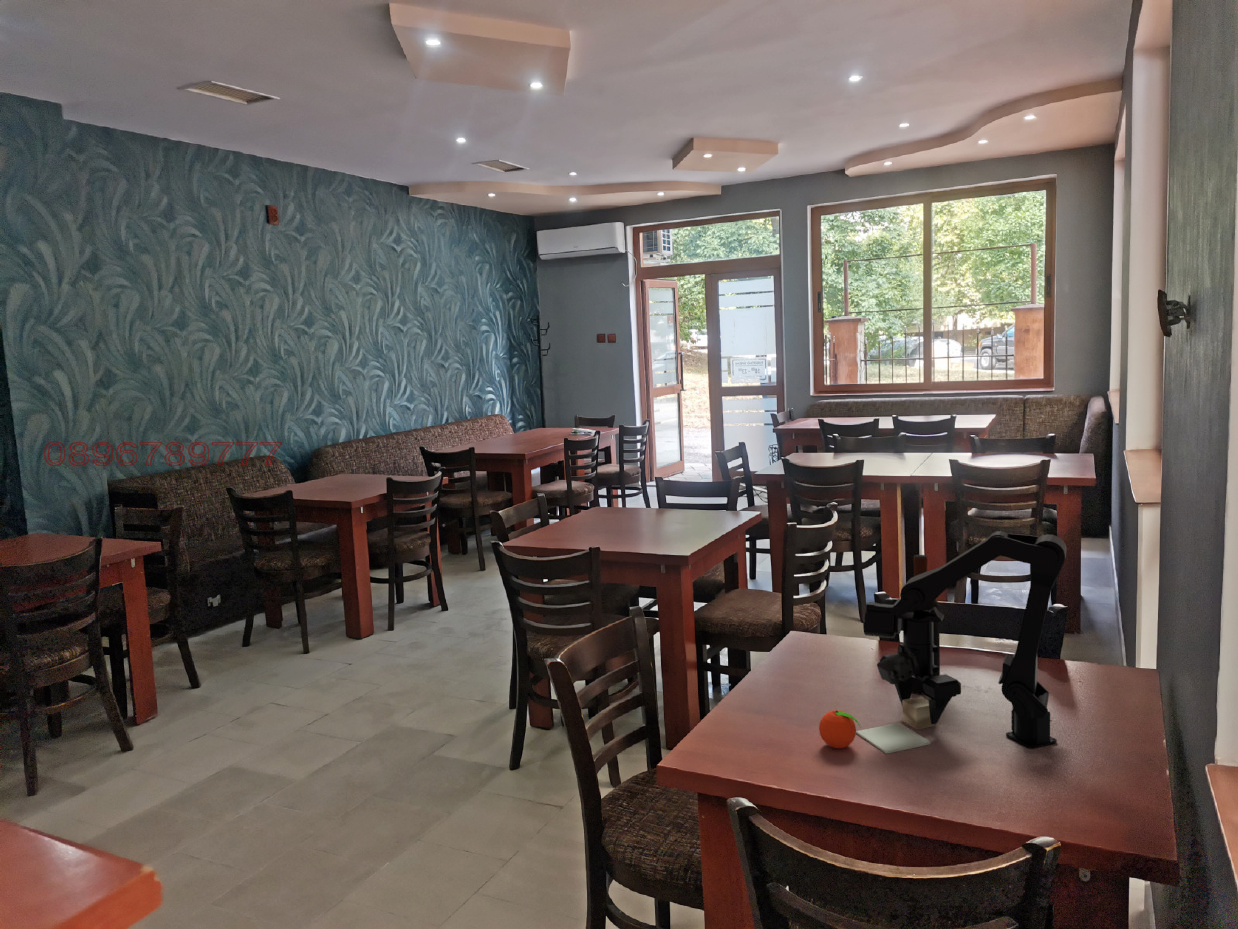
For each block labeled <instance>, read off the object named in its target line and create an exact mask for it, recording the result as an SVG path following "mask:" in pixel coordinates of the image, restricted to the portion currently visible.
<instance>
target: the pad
mask: <svg viewBox="0 0 1238 929" xmlns="http://www.w3.org/2000/svg"><path fill="white" fill-rule="evenodd" d="M856 735H857V736H859V737H861V738H862V739H863V740H865V739H866V740H865V741H867V743H870V744H871V745H872V746H873V747H875V748H877V749H878V750H879V751H881V752H883V753H884V754H891V753H896V752H901V751H906V750H909V749H915V748H919V747H924V746H928V745H929V746H930V745H932V741H930V740H929V739H927V738H925V737H924V736H922V735H920V734H918V732H915V731H914V730H912V729H910V728H909V727H907V726H905V725H904V724H902V723H900V722H896V723H891V724H890V723H889V724H886V725H885V724H884V725H880V726H876V727H870V728H866V729H860V730H856Z"/></svg>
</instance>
